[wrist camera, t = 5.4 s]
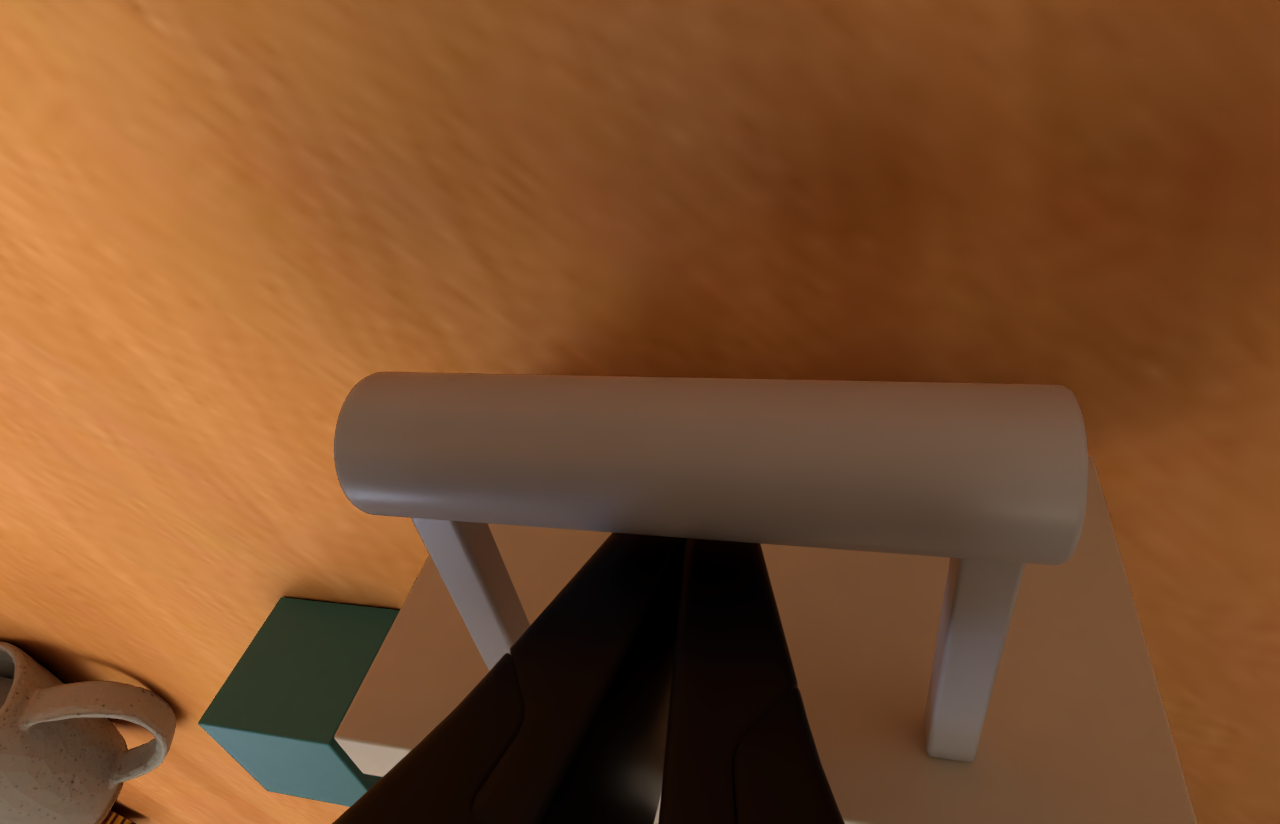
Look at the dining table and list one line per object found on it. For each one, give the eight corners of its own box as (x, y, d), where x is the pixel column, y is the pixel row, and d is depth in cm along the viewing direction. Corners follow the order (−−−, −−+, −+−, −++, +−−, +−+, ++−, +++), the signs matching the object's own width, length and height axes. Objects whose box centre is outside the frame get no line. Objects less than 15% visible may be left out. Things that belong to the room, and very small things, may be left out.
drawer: (396, 170, 13) (102, 461, 8) (1194, 123, 10) (1508, 545, 5) (606, 739, 25) (541, 990, 20) (988, 796, 22) (1020, 1106, 17)
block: (399, 609, 24) (328, 745, 21) (443, 684, 27) (386, 814, 24) (280, 596, 26) (196, 723, 22) (334, 669, 28) (266, 791, 25)
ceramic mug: (65, 727, 40) (-63, 893, 34) (-64, 635, 35) (-238, 812, 29) (227, 742, 37) (114, 929, 31) (110, 642, 32) (-49, 844, 26)
